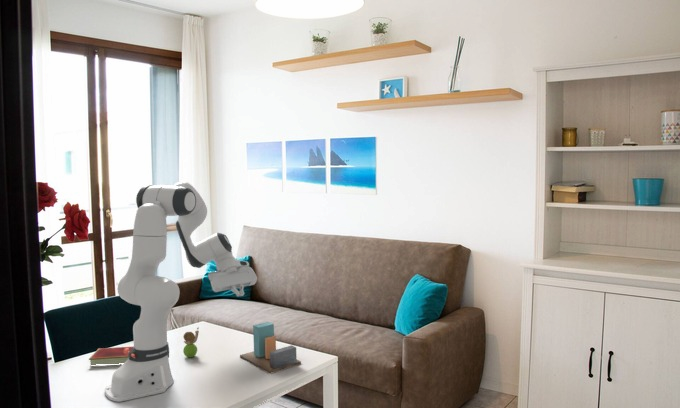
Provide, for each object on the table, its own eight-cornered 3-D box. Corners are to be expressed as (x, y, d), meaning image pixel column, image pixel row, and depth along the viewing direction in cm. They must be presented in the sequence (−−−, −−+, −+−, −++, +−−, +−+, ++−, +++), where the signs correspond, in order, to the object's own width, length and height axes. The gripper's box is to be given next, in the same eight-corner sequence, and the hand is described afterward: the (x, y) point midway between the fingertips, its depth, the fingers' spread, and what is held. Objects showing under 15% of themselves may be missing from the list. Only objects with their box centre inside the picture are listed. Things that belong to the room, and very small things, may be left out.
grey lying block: (274, 369, 196) (274, 353, 196) (270, 367, 198) (269, 351, 198) (296, 362, 203) (296, 347, 202) (292, 360, 205) (291, 345, 204)
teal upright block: (261, 358, 206) (260, 328, 205) (254, 355, 210) (253, 325, 209) (276, 354, 210) (275, 324, 209) (269, 350, 215) (268, 321, 214)
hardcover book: (99, 357, 216) (98, 347, 216) (152, 354, 219) (152, 344, 218) (89, 368, 204) (88, 358, 204) (146, 365, 207) (145, 354, 206)
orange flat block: (267, 359, 205) (266, 339, 205) (265, 358, 206) (264, 338, 206) (286, 353, 211) (285, 334, 210) (284, 352, 212) (283, 333, 211)
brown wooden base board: (269, 373, 195) (269, 370, 195) (240, 357, 212) (239, 354, 212) (300, 363, 204) (300, 360, 204) (269, 349, 221) (269, 346, 221)
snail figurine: (197, 359, 211) (196, 329, 210) (181, 359, 211) (180, 329, 210) (201, 354, 216) (200, 325, 215) (186, 354, 216) (184, 325, 215)
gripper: (208, 268, 220) (220, 295, 214) (251, 261, 234) (264, 286, 227) (204, 277, 224) (216, 304, 218) (246, 269, 237) (259, 295, 231)
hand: (241, 295), depth 222 cm, fingers closed
